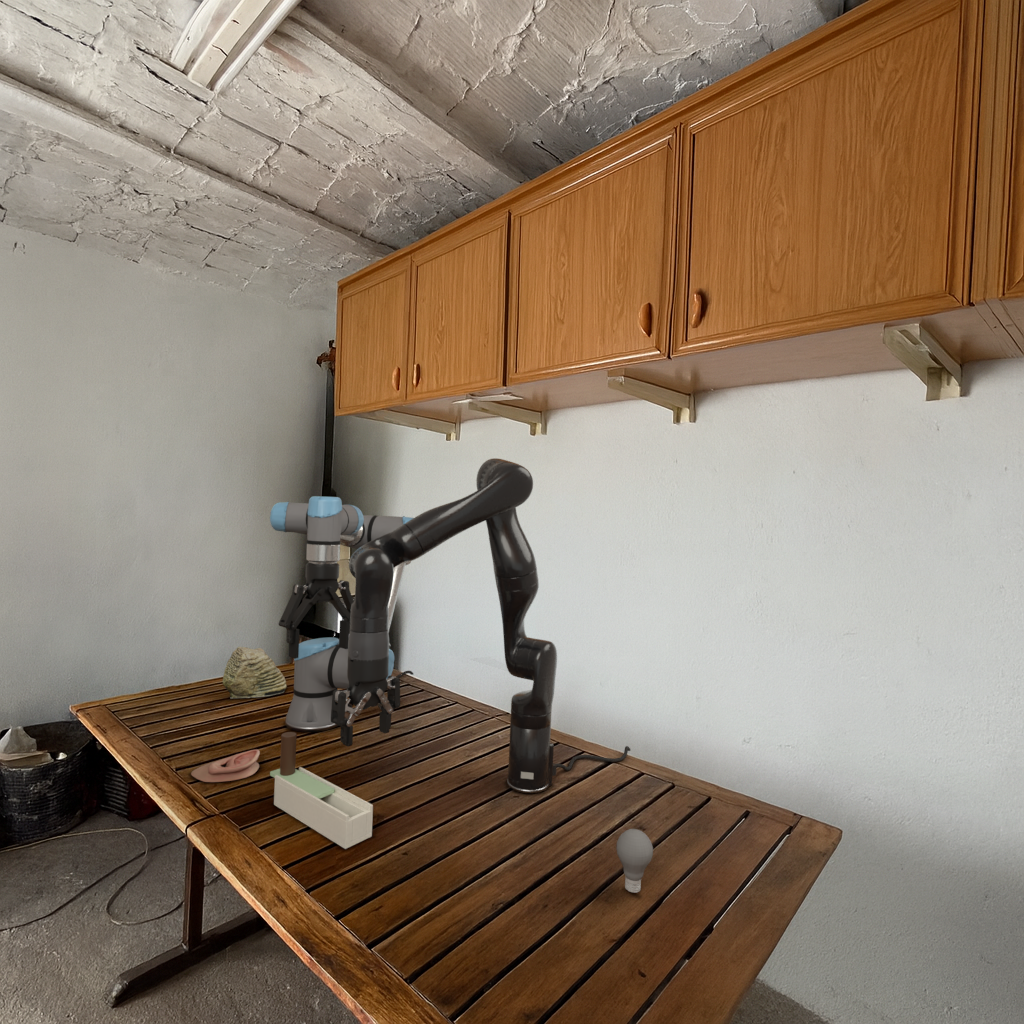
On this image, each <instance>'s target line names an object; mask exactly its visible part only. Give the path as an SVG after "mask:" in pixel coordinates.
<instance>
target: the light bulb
mask: <svg viewBox="0 0 1024 1024" xmlns="http://www.w3.org/2000/svg"><path fill="white" fill-rule="evenodd" d="M615 849H616V854H617V857H618V859H619V861H620V863H621V865H622V867H623V873H624V874H623V875H624V876H625V878H624V888H625V890H627V891H628V892H630V893H634V894H635V893H639V892H640V891H641V889H642V887H641V886H642V879H643V877H644V875H645V871H646V868H647V867H648V866H649V864H650V863H651V861H652V859H653V855H654V847H653V843H652V841H651V838H649V836H648V835H647V834H646V833H645V832H643V831H642V830H641V829H636V828H629V829H627V830H625V831H623V832H622V833H621V834H620V835H619V837H618V839H617V841H616V847H615Z"/></svg>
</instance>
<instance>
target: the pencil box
mask: <svg viewBox="0 0 1024 1024" xmlns="http://www.w3.org/2000/svg"><path fill="white" fill-rule="evenodd" d="M298 770H299V771H301V772H302V773H304V774H306V775H308V776H310V777H312V778H314V779H316V780H318V781H320V782H322V783H324V784H326V785H328V786H330V787H332V788H334V789H335V790H334V793H333V794H330V795H328V796H325V797H323V798H320V799H319V798H317V797H315V796H313V795H311V794H310V793H308V792H306V791H304V790H303V789H301V788H299V787H297V786H295V785H294V784H292V783H290V782H288V781H287V780H285V779H283V778H281V777H280V776H278V775H276V776H275V778H274V788H273V789H274V790H273V791H274V792H273V805H274V806H275V807H277V808H278V809H280V810H281V811H283V812H285V813H287V814H288V815H289V816H291V817H293V818H295V819H296V820H298V821H299V822H301V823H303V824H304V825H306V826H307V827H309V828H310V829H312V830H314V831H315V832H317V833H318V834H320V835H322V836H323V837H324V838H327V840H330V841H331V842H333V843H334V844H336V845H338V846H339V847H341V848H342V849H344V850H347V849H348V848H351V847H353V846H355V845H357V844H359V843H361V842H363V841H365V840H367V839H370V838H372V837H373V817H374V816H373V815H374V805H373V804H372V803H371V802H368V801H367V800H365V799H362V798H361V797H359V796H357V795H355V794H353V793H351V792H349V791H347V790H345V789H344V788H342V787H340V786H338V785H336V784H334V783H332V782H330V781H329V780H327V779H325V778H323V777H320V776H319V775H317V774H315V773H313V772H311V771H309V770H307V769H305V768H304V767H301V766H299V767H298Z"/></svg>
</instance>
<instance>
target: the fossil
mask: <svg viewBox="0 0 1024 1024" xmlns="http://www.w3.org/2000/svg"><path fill="white" fill-rule="evenodd" d="M222 676H223V677H222V685H223V687H224V688H225V690H226V691H228V693H229V698H230V699H250V698H264V697H271V696H275V695H281V694H284V693H285V691H286V689H287V687H288V686H287V680H286V678H285V676H284V674H283V673H282V672H281V669H279V668H278V667H277V665H276V663H275V662H274V660H273V659H272V658H271V657H270V656H269V655H268V654H267V653H266V652H265V650H264V649H263V648H260V647H258V648H251V647H247V646H246V647H245V646H238V647H237V648H236V649H235V650H233V651H232V653H231V656H230V657H229V659H228V660H227V663H226V666H225V668H224V671H223V675H222Z"/></svg>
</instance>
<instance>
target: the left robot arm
mask: <svg viewBox="0 0 1024 1024" xmlns="http://www.w3.org/2000/svg"><path fill="white" fill-rule="evenodd" d="M413 518H414V517H412V516H411V517H410V516H405V515H403V516H393V515H377V514H375V515H374V514H368V515H367V514H365V515H364V514H363V512H362V510H361V509H360V508H359V507H358V506H356V505H352V504H350V503H348V504H347V503H346V504H343V501H342V499H341V498H340V496H339V497H338V496H321V495H320V496H319V495H314V496H313V495H312V496H311V497H310V498H309V500H308V502H306V503H305V502H293V501H291V502H290V501H279V502H276V503H275V504H274V505H273V506H272V508H271V510H270V515H269V521H270V526H271V527H272V529H273V530H274V531H276V532H283V533H294V534H295V533H296V534H301V535H306V536H307V537H306V559H305V560H306V561H308V562H307V563H306V564H305V580H306V582H305V584H304V585H303V584H298V583H294V584H293V585H292V593H291V596H290V598H289V600H288V602H287V604H286V606H285V608H284V611H283V613H282V614H281V617H280V619H279V621H278V626H279V627H281V628H285V629H286V640H285V641H286V643H287V644H288V657H289V658H292V659H293V661H294V672H293V695H292V696H293V697H292V699H291V702H290V704H289V708H288V711H287V713H286V715H285V726H286V728H287V729H289V730H291V731H294V732H295V731H296V732H301V733H316V732H325V731H329V730H332V729H335V728H337V727H340V726H339V725H337V724H335V723H332V722H331V709H332V696H333V691H334V690H338V689H342V690H347V688H348V685H349V681H348V677H347V667H348V640H349V634H350V612H351V605H352V602H353V601H354V600H355V599H354V598H353V595H352V593H351V590H350V582H349V581H348V580H342V579H340V580H339V581H338V579H339V578H340V564H339V563H338V562H339V561H340V560H341V546H342V547H347V548H351V549H354V550H357V549H358V548H360V547H361V546H363V545H364V544H366V543H368V542H370V541H372V540H374V539H377V538H379V537H381V536H383V535H385V534H388V533H390V532H392V531H394V530H396V529H397V528H399V527H400V526H402V525H403V524H405V523H407V522H408V521H410V520H412V519H413ZM411 563H412V561H406V562H403V563H401V564H399V565H398V566H396V567H394V576H393V585H392V590H391V596H390V600H389V605H388V609H389V620H388V634H389V633H390V628H391V625H392V621H393V616H394V612H395V608H396V604H397V600H398V596H399V593H400V592H399V591H400V588H401V583H402V579H403V576H404V572H405V567H407V566H408V565H410V564H411ZM338 590H339V594H340V596H341V598H340V597H339V595H338V593H337V592H338ZM305 593H306V594H305ZM304 594H305V595H304ZM303 596H304V597H303ZM341 599H342V600H341ZM342 601H343V602H342ZM323 602H324V603H325V602H326V603H329V602H330V603H331V605H332V606H333V608H334V609H335V610H336V612H337V613H338V614H339V616H340V617H341V618H342V619H341V620H339V634H338V635H339V636H338V637H334V636H333V637H332V636H331V637H330V636H329V637H318V638H313V639H307V640H304V641H302V642H300V628H297V627H299V625H300V623H301V622H302V621H303V619H304V618H305V617H306V615H307V613H308V612H309V611H310V609H311V608H312V607H313V606H315V604H316V603H317V604H320V603H323ZM394 662H395V652H393V650H392V649H391V643H390V642H389V667H388V676H392V674H393V671H394V666H395V663H394ZM401 674H402V675H401ZM406 674H410V675H411V676H413V675H414V672H413V671H412V670H405V671H403V672H401V673H399V674H398V675H396V676H395V677H396V678H399V679H400V678H401V677H402V676H404V675H406ZM387 678H388V677H387ZM387 678H386V679H387ZM386 690H387V688H386Z"/></svg>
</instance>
